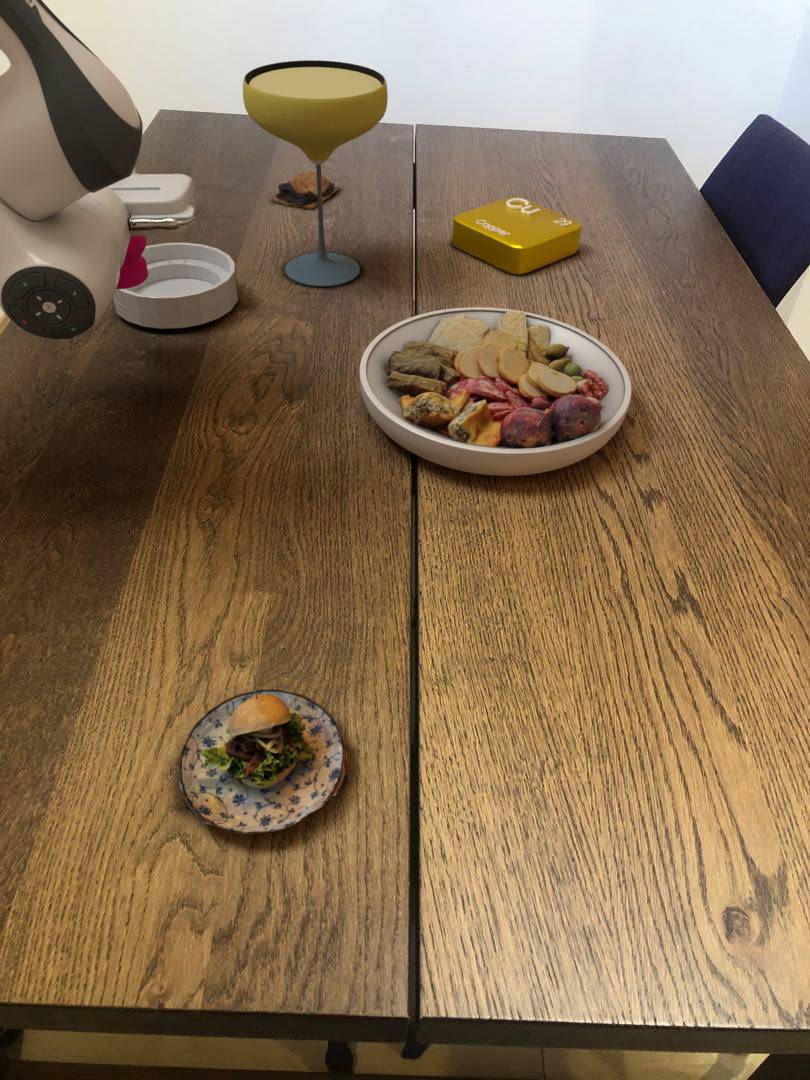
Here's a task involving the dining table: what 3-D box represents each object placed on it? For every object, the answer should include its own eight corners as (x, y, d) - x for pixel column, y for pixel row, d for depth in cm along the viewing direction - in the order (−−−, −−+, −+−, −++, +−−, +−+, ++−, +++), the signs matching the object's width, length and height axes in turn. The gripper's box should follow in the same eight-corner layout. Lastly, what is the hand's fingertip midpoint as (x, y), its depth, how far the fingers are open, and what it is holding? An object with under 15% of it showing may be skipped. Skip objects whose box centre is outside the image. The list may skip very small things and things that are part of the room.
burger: (155, 831, 55) (134, 772, 50) (212, 691, 64) (199, 628, 59) (328, 860, 54) (324, 803, 49) (362, 714, 63) (362, 652, 58)
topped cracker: (300, 181, 144) (299, 159, 142) (342, 190, 142) (342, 168, 139) (268, 201, 137) (266, 178, 134) (312, 210, 134) (311, 187, 132)
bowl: (307, 394, 95) (304, 333, 89) (491, 319, 109) (498, 263, 104) (487, 532, 78) (496, 467, 73) (676, 423, 93) (695, 362, 88)
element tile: (446, 243, 127) (448, 212, 123) (511, 220, 134) (515, 190, 131) (517, 278, 119) (521, 246, 115) (583, 251, 126) (588, 220, 123)
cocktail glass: (301, 311, 109) (288, 108, 92) (237, 261, 120) (215, 70, 103) (409, 279, 117) (416, 86, 100) (341, 234, 128) (337, 53, 111)
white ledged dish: (107, 336, 103) (98, 299, 100) (122, 278, 115) (114, 244, 111) (237, 331, 105) (233, 295, 101) (239, 275, 117) (235, 241, 113)
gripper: (188, 191, 76) (197, 142, 86) (-45, 194, 73) (-8, 144, 83) (198, 257, 80) (205, 203, 90) (-22, 262, 78) (10, 206, 88)
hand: (101, 175), depth 87 cm, fingers closed on pepper mill, 4 cm apart
